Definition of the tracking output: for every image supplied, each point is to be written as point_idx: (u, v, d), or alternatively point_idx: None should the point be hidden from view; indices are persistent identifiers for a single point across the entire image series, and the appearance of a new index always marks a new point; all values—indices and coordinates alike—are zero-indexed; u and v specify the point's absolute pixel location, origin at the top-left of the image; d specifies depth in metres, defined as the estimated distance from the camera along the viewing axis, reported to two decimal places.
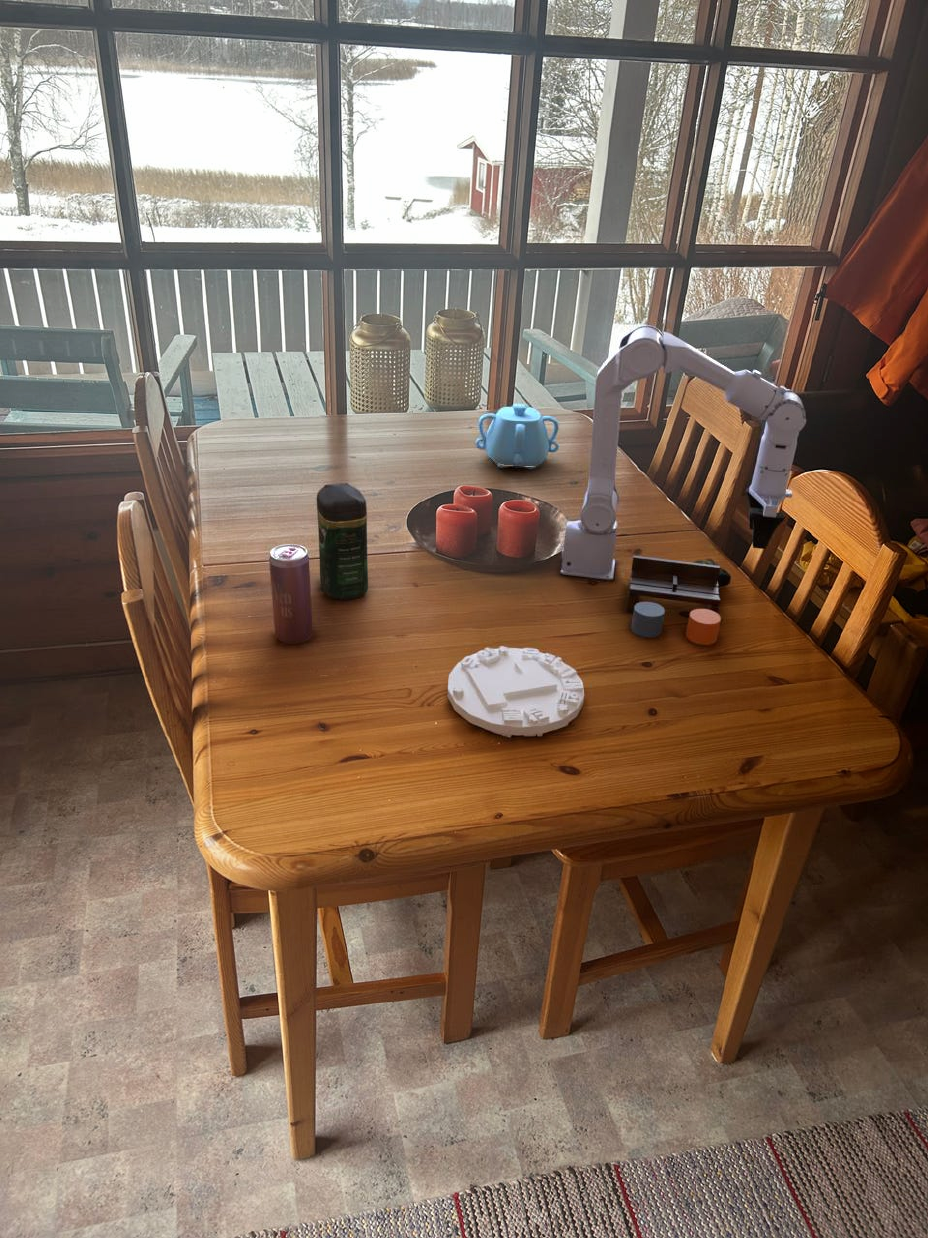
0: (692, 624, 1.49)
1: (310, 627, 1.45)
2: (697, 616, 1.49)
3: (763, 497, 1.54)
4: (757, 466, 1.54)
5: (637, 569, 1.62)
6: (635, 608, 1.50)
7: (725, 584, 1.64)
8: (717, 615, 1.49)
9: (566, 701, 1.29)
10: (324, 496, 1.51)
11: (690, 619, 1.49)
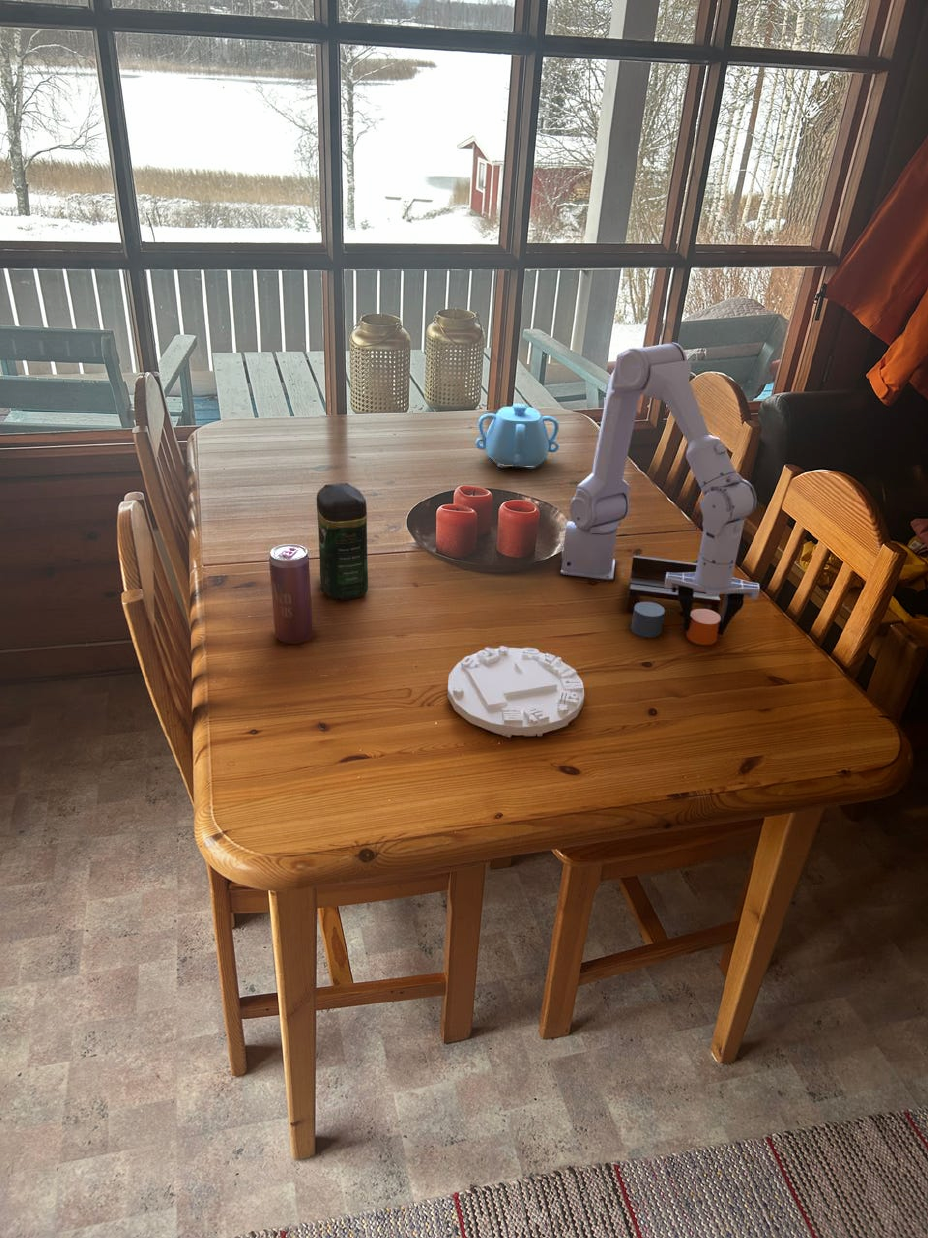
0: (692, 624, 1.48)
1: (310, 627, 1.45)
2: (697, 616, 1.49)
3: (693, 577, 1.47)
4: None
5: (637, 569, 1.62)
6: (635, 608, 1.50)
7: None
8: (717, 615, 1.49)
9: (566, 701, 1.29)
10: (324, 496, 1.51)
11: (690, 619, 1.49)
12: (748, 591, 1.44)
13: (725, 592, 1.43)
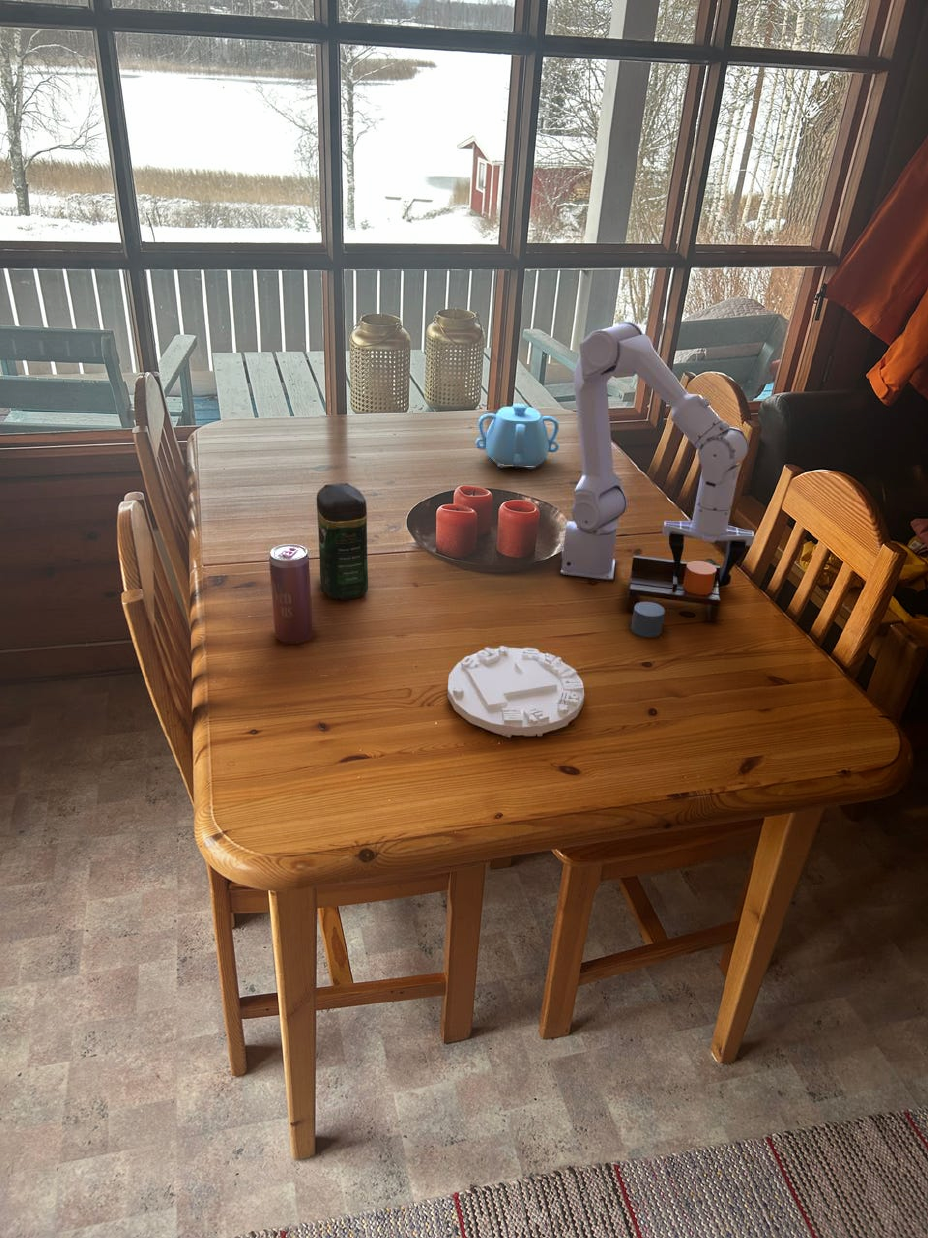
0: (688, 575, 1.55)
1: (310, 627, 1.45)
2: (693, 567, 1.55)
3: (690, 525, 1.53)
4: None
5: (637, 569, 1.62)
6: (635, 608, 1.50)
7: (725, 584, 1.64)
8: (713, 566, 1.55)
9: (566, 701, 1.29)
10: (324, 496, 1.51)
11: (687, 570, 1.55)
12: (743, 538, 1.50)
13: (720, 538, 1.49)
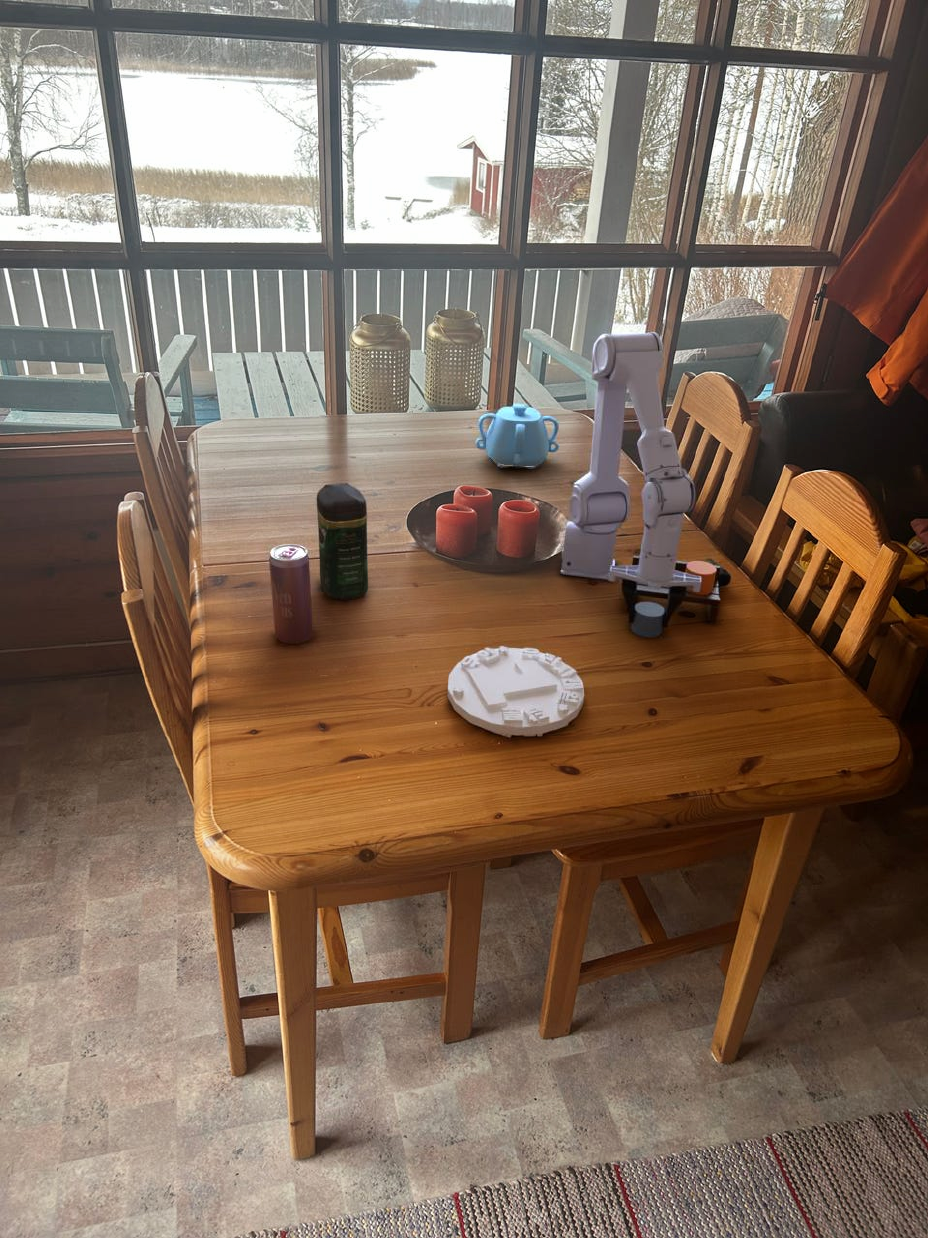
0: None
1: (310, 627, 1.45)
2: (693, 567, 1.55)
3: (636, 570, 1.48)
4: None
5: None
6: (635, 608, 1.50)
7: (725, 584, 1.64)
8: (713, 566, 1.55)
9: (566, 701, 1.29)
10: (324, 496, 1.51)
11: (687, 570, 1.55)
12: (690, 584, 1.45)
13: (667, 584, 1.45)
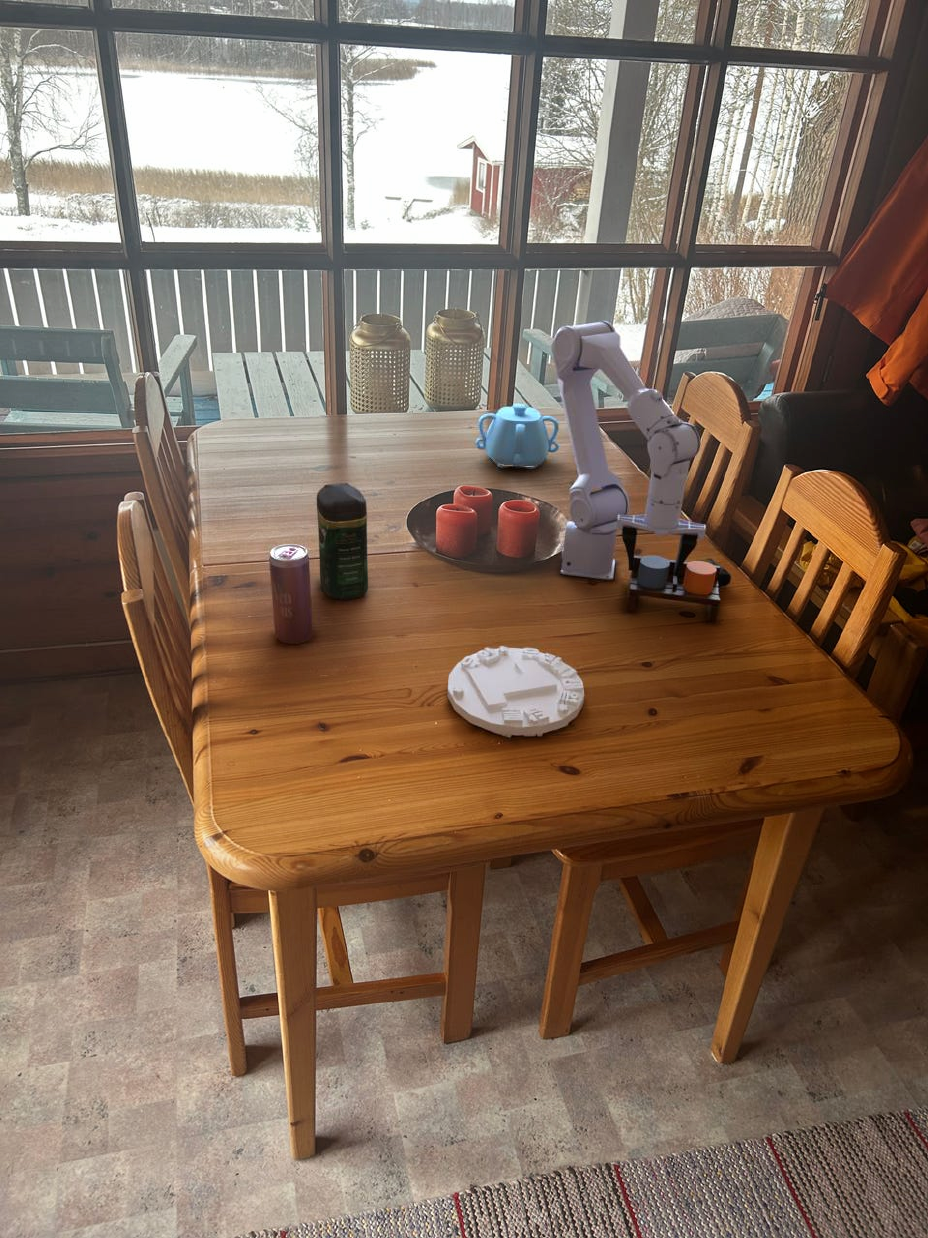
0: (688, 575, 1.55)
1: (310, 627, 1.45)
2: (693, 567, 1.55)
3: (643, 519, 1.54)
4: None
5: (637, 569, 1.62)
6: (641, 561, 1.56)
7: (725, 584, 1.64)
8: (713, 566, 1.55)
9: (566, 701, 1.29)
10: (324, 496, 1.51)
11: (687, 570, 1.55)
12: (695, 531, 1.51)
13: (672, 532, 1.50)
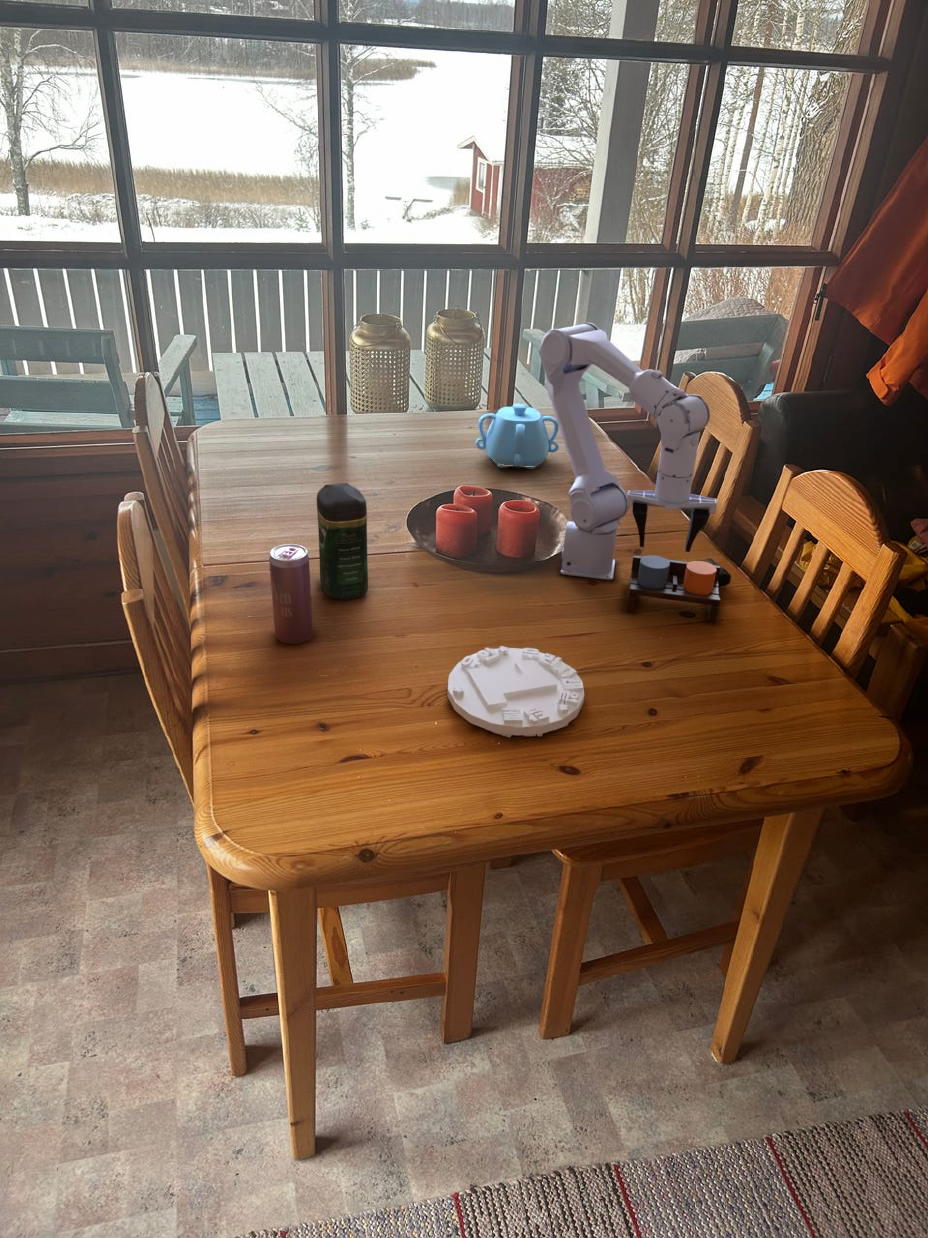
0: (688, 575, 1.55)
1: (310, 627, 1.45)
2: (693, 567, 1.55)
3: None
4: None
5: (637, 569, 1.62)
6: (641, 561, 1.56)
7: (725, 583, 1.64)
8: (713, 566, 1.55)
9: (566, 701, 1.29)
10: (324, 496, 1.51)
11: (687, 570, 1.55)
12: (706, 505, 1.50)
13: (683, 506, 1.49)
